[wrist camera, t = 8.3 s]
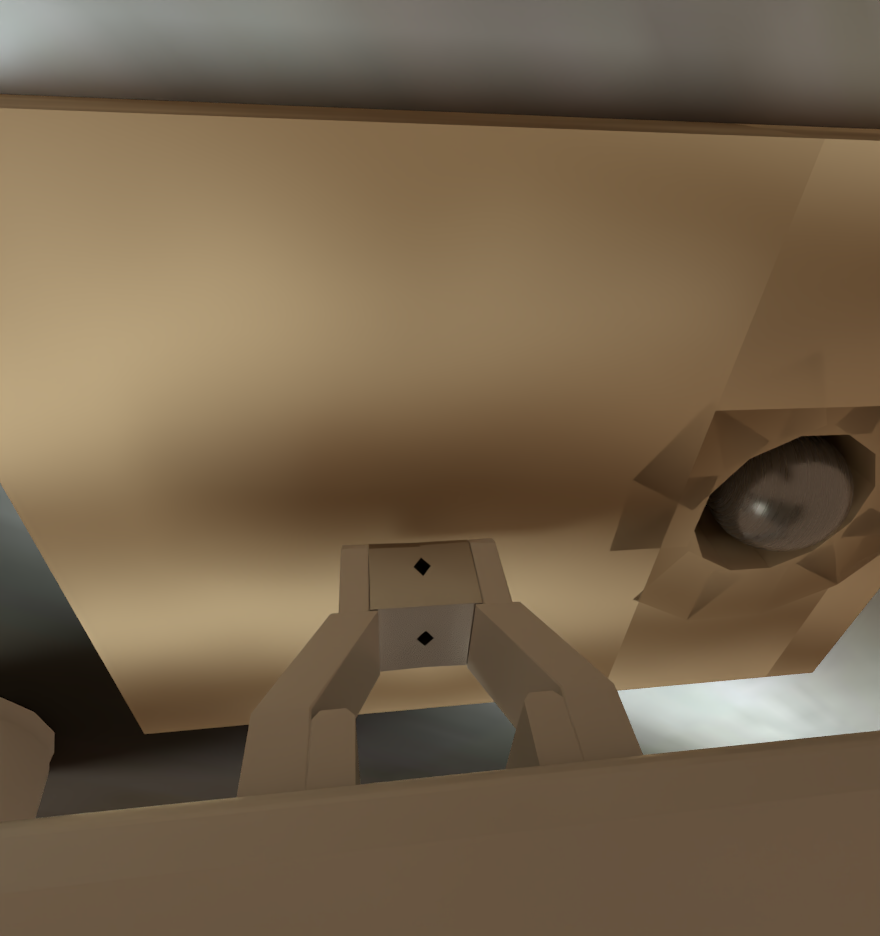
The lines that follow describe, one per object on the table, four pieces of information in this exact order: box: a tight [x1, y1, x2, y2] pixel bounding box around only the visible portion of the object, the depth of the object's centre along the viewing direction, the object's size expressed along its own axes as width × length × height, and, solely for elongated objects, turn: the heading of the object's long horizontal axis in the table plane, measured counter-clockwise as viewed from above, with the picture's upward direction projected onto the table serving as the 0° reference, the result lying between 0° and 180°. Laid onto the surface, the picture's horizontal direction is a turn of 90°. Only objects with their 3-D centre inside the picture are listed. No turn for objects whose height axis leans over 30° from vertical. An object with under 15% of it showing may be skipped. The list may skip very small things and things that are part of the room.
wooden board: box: [0, 94, 880, 734], centre depth 13 cm, size 15×21×2 cm
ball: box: [707, 436, 854, 552], centre depth 14 cm, size 3×3×3 cm
